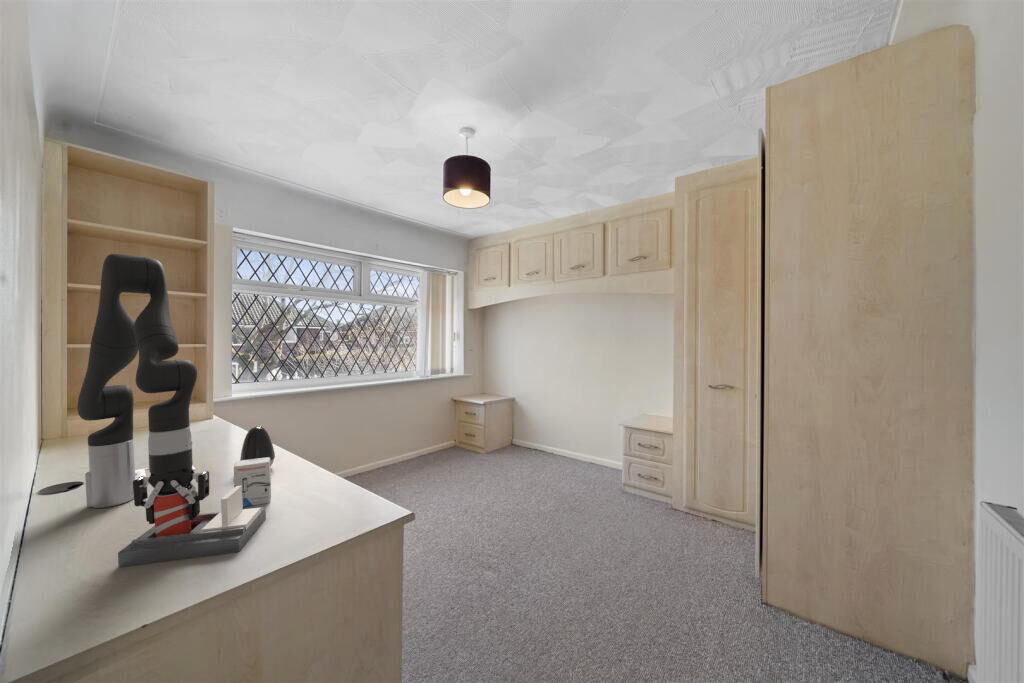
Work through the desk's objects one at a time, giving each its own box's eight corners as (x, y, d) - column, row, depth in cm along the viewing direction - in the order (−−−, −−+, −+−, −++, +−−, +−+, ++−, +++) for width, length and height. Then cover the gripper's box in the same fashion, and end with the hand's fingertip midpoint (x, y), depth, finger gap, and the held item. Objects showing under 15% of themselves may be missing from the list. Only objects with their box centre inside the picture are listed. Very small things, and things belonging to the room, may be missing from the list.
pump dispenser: (278, 463, 148) (276, 422, 147) (271, 473, 138) (269, 428, 138) (246, 467, 145) (244, 424, 144) (236, 477, 135) (234, 431, 134)
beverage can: (178, 535, 97) (175, 485, 96) (198, 538, 95) (195, 487, 94) (149, 548, 91) (146, 495, 90) (170, 552, 89) (166, 497, 89)
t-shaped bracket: (201, 534, 90) (200, 502, 90) (220, 516, 99) (219, 486, 98) (246, 529, 92) (244, 497, 92) (261, 512, 101) (260, 483, 100)
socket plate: (118, 567, 84) (117, 548, 83) (165, 530, 99) (164, 513, 99) (239, 551, 89) (238, 533, 88) (265, 518, 104) (265, 503, 104)
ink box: (233, 509, 110) (232, 466, 110) (236, 502, 114) (234, 461, 114) (270, 502, 114) (269, 461, 114) (271, 496, 118) (270, 456, 118)
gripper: (121, 456, 87) (124, 532, 87) (198, 450, 90) (201, 524, 91) (144, 446, 94) (147, 517, 95) (214, 441, 97) (217, 509, 98)
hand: (174, 520), depth 93 cm, fingers open, 7 cm apart
